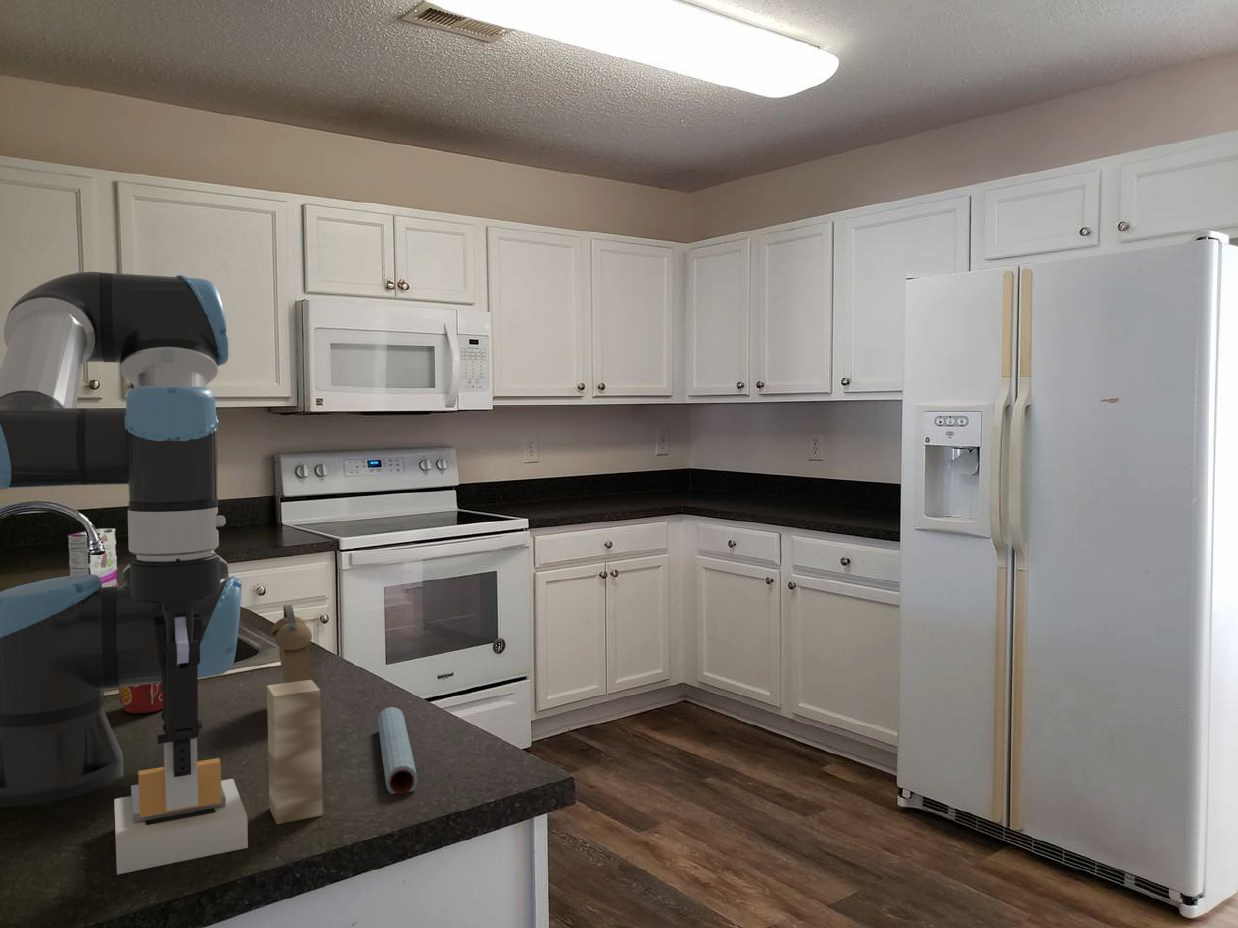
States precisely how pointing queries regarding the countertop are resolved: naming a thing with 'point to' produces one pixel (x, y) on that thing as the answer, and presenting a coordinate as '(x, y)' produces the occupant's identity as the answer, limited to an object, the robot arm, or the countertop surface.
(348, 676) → the countertop surface
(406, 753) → the aluminum foil
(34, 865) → the countertop surface
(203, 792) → the shutter
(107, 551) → the candy bar box
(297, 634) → the alarm clock
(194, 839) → the socket
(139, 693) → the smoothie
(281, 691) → the peg
